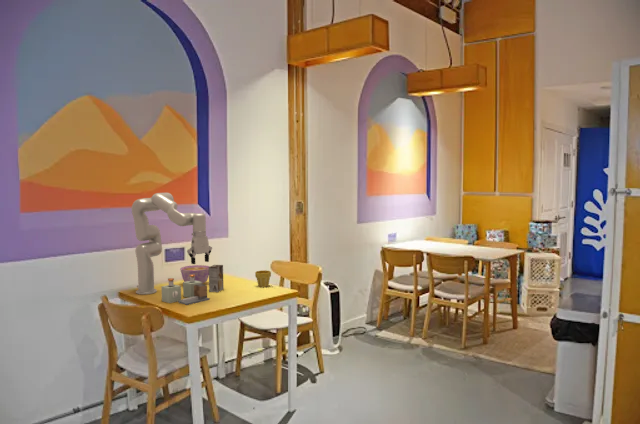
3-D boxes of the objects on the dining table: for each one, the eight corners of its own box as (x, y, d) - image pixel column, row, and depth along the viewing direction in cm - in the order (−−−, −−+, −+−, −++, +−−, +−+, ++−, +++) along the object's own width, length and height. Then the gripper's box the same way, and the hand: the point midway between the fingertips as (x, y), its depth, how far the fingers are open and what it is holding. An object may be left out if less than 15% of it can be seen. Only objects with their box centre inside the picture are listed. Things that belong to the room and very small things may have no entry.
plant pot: (253, 287, 344) (253, 273, 343) (258, 284, 354) (257, 270, 354) (268, 288, 342) (268, 273, 342) (272, 284, 353) (272, 270, 352)
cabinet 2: (183, 296, 321) (182, 282, 320) (194, 294, 327) (193, 280, 326) (191, 298, 316) (191, 284, 315) (202, 296, 322) (201, 282, 321)
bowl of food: (174, 285, 351) (173, 268, 350) (195, 280, 368) (195, 264, 367) (195, 289, 340) (195, 271, 340) (216, 283, 357) (216, 266, 357)
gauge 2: (188, 285, 321) (188, 274, 320) (193, 284, 323) (192, 274, 323) (191, 286, 319) (191, 275, 318) (196, 285, 321) (196, 274, 321)
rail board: (177, 302, 306) (177, 298, 306) (200, 297, 318) (200, 293, 318) (186, 305, 300) (186, 300, 300) (209, 299, 312) (209, 295, 312)
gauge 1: (167, 290, 309) (166, 278, 309) (172, 289, 312) (171, 277, 311) (170, 291, 307) (170, 279, 307) (175, 290, 310) (175, 278, 309)
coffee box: (214, 288, 342) (214, 264, 340) (223, 289, 340) (223, 264, 339) (208, 291, 333) (208, 267, 331) (218, 292, 331) (217, 267, 330)
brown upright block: (194, 297, 313) (193, 284, 312) (201, 295, 316) (200, 283, 316) (200, 299, 309) (200, 286, 308) (207, 297, 313) (206, 284, 312)
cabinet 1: (161, 301, 310) (161, 286, 309) (173, 298, 316) (173, 284, 315) (169, 303, 304) (169, 288, 304) (181, 300, 310) (181, 286, 310)
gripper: (191, 236, 301) (191, 265, 302) (215, 233, 314) (215, 261, 315) (183, 235, 306) (184, 264, 307) (207, 232, 319) (208, 260, 320)
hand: (200, 262), depth 311 cm, fingers open, 9 cm apart
